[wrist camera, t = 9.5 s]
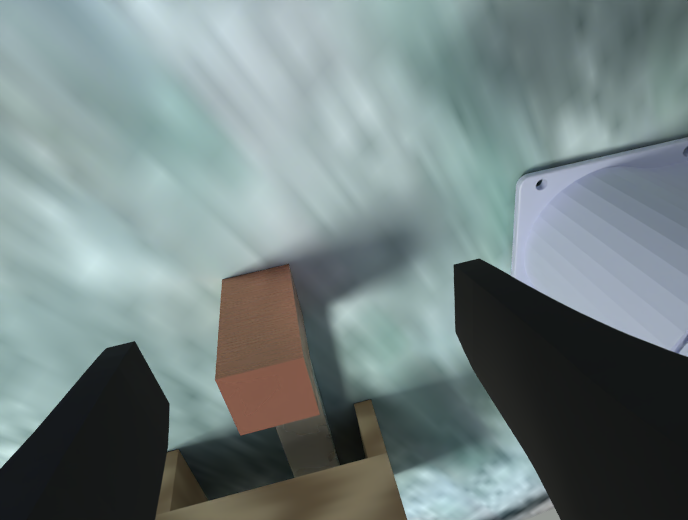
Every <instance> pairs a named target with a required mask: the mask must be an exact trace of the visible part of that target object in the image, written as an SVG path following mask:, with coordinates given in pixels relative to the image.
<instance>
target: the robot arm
mask: <svg viewBox="0 0 688 520" xmlns="http://www.w3.org/2000/svg"><path fill="white" fill-rule="evenodd" d="M686 147H687V148H686ZM685 148H686V150H685V151H684V149H685ZM541 179H542V183H541V184H540V185H539V186H537V187H536V184H537V182H538V181H539V180H541ZM454 295H455V331H456V334H457V336H458V338H459V341H460V343H461V345H462V347H463V350H464V352H465V354H466V356H467V358H468V360H469V362H470V364H471V366H472V368H473V370H474V372H475V373H476V375H477V377H478V378H479V380H480V382H481V383H482V385H483V386H484V388H485V390H486V391H487V393H488V394H489V396H490V398H491V399H492V401H493V402H494V404H495V405H496V407H497V409H498V410H499V412H500V413H501V415H502V416H503V418H504V420H505V421H506V423H507V424H508V426H509V428H510V429H511V431H512V432H513V434H514V435H515V437H516V439H517V440H518V442H519V443H520V445H521V446H522V448H523V450H524V451H525V453H526V455H527V456H528V458H529V460H530V461H531V463H532V465H533V467H534V468H535V470H536V472H537V474H538V476H539V478H540V480H541V482H542V484H543V486H544V488H545V489H546V491H547V493H548V495H549V497H550V499H551V501H552V503H553V505H554V507H555V509H556V511H557V513H558V515H559V517H560V519H561V520H688V137H686V138H682V139H678V140H673V141H669V142H664V143H660V144H656V145H651V146H647V147H642V148H638V149H634V150H629V151H625V152H620V153H616V154H612V155H607V156H603V157H599V158H594V159H590V160H585V161H581V162H577V163H572V164H568V165H563V166H559V167H555V168H550V169H546V170H541V171H537V172H533V173H528V174H526V175H523V176H522V177H521V178H520V179H519V180H518V182H517V185H516V195H515V213H514V230H513V248H512V266H511V276H510V275H509V274H507V273H505V272H503V271H501V270H500V269H498V268H496V267H494V266H492V265H491V264H489V263H487V262H485V261H483V260H481V259H476V260H471V261H467V262H463V263H459V264H455V265H454ZM168 433H169V402H168V400H167V398H166V397H165V395H164V393H163V391H162V389H161V388H160V386H159V384H158V382H157V380H156V379H155V377H154V375H153V373H152V371H151V370H150V368H149V366H148V364H147V362H146V361H145V359H144V357H143V355H142V353H141V351H140V350H139V348H138V346H137V344H136V342H135V341H134V342H130V343H126V344H122V345H118V346H113V347H109V348H106V349H105V350H104V351H103V352H102V353H101V355H100V356H99V357H98V358H97V359H96V360H95V361H94V362H93V363H92V365H91V366H90V367H89V368H88V369H87V370H86V372H85V373H84V374H83V375H82V376H81V378H80V379H79V380H78V381H77V382H76V384H75V385H74V386H73V387H72V388H71V389H70V391H69V392H68V393H67V394H66V395H65V397H64V398H63V399H62V400H61V401H60V402H59V404H58V405H57V406H56V407H55V408H54V409H53V411H52V412H51V413H50V414H49V415H48V416H47V418H46V419H45V420H44V421H43V422H42V423H41V425H40V426H39V427H38V428H37V429H36V430H35V432H34V433H33V434H32V435H31V436H30V437H29V438H28V439H27V440H26V441H25V443H24V444H23V445H22V446H21V447H20V448H19V449H18V450H17V451H16V452H15V453H14V455H13V456H12V457H11V458H10V459H9V460H8V461H7V462H6V463H5V464H4V465H3V467H2V468H1V469H0V520H155V518H156V512H157V506H158V501H159V495H160V490H161V484H162V479H163V473H164V467H165V461H166V455H167V449H168Z"/></svg>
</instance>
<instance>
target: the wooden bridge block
mask: <svg viewBox="0 0 688 520" xmlns="http://www.w3.org/2000/svg"><path fill="white" fill-rule="evenodd" d="M354 407H355V411H356V416H357V421H358V425H359V430H360V434H361V439H362V444H363V448H364V453H365V457H366V459H363V460H359V461H355V462H352V463H348V464H344V465H341V466H337V467H333V468H329V469H326V470H322V471H318V472H314V473H311V474H307V475H303V476H300V477H296V478H292V479H288V480H285V481H281V482H277V483H274V484H270V485H266V486H262V487H259V488H255V489H251V490H247V491H244V492H240V493H236V494H233V495H229V496H225V497H221V498H218V499H214V500H210V501H208V499H207V497H206V496H205V494H204V492H203V490H202V489H201V487H200V485H199V484H198V482H197V480H196V478H195V477H194V475H193V473H192V472H191V470H190V468H189V467H188V465H187V463H186V461H185V460H184V458H183V456H182V455H181V453H180V451H179V449H178V450H174V451H170V452H167V455H166V461H165V467H164V473H163V479H162V484H161V490H160V495H159V501H158V506H157V512H156V518H155V520H407V518H406V514H405V511H404V508H403V504H402V501H401V498H400V494H399V491H398V488H397V484H396V481H395V478H394V474H393V471H392V468H391V464H390V461H389V458H388V455H387V451H386V448H385V445H384V441H383V438H382V435H381V431H380V428H379V425H378V421H377V418H376V415H375V411H374V408H373V405H372V401H371V400H367V401H363V402H359V403H356V404H354Z"/></svg>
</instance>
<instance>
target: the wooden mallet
mask: <svg viewBox="0 0 688 520" xmlns="http://www.w3.org/2000/svg"><path fill="white" fill-rule="evenodd" d="M215 381H216V383H217V385H218V387H219V389H220V392H221V394H222V396H223V398H224V400H225V403H226V405H227V407H228V409H229V411H230V414H231V416H232V418H233V420H234V422H235V425H236V427H237V429H238V431H239V433H240V436H241V435H244V434H248V433H252V432H256V431H260V430H264V429H267V428H271V427H275V428H276V430H277V433H278V436H279V438H280V441H281V444H282V446H283V449H284V451H285V454H286V457H287V459H288V462H289V465H290V467H291V470H292V472H293V475H294V478H296V477H300V476H303V475H307V474H311V473H314V472H318V471H322V470H326V469H329V468H333V467H337V466H340V463H339V460H338V456H337V453H336V449H335V445H334V442H333V438H332V435H331V431H330V427H329V424H328V420H327V417H326V413H325V410H324V406H323V402H322V399H321V395H320V392H319V388H318V384H317V381H316V377H315V374H314V370H313V366H312V363H311V359H310V355H309V349H308V343H307V337H306V332H305V326H304V320H303V315H302V311H301V307H300V304H299V300H298V296H297V293H296V289H295V285H294V282H293V278H292V274H291V270H290V267H289V264H287V265H283V266H278V267H274V268H270V269H266V270H261V271H257V272H253V273H249V274H244V275H240V276H236V277H232V278H228V279H223V280H222V290H221V304H220V318H219V332H218V347H217V361H216V375H215Z"/></svg>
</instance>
